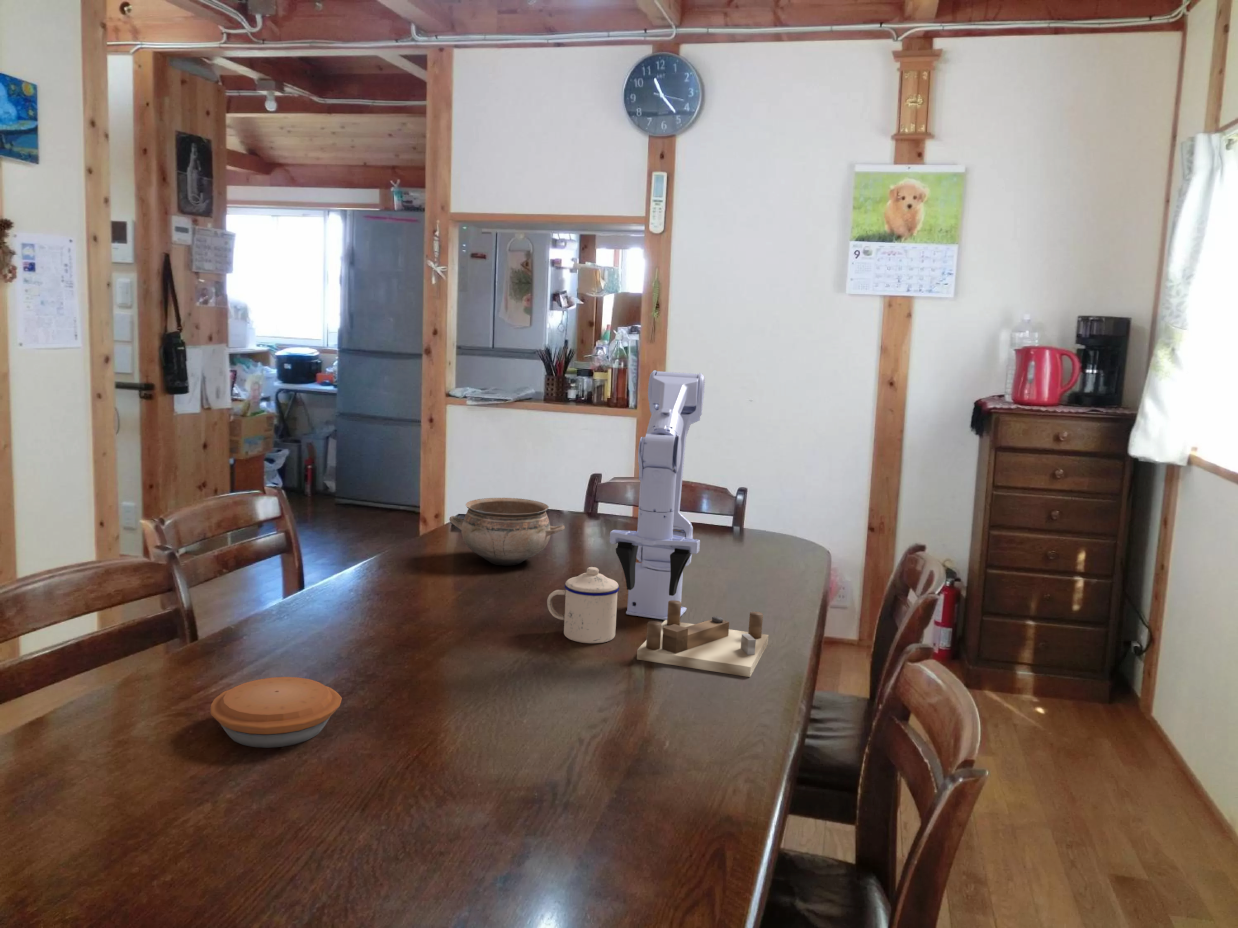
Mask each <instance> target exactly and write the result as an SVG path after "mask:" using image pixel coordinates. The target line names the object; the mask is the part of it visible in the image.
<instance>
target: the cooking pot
mask: <svg viewBox="0 0 1238 928" xmlns="http://www.w3.org/2000/svg"><path fill="white" fill-rule="evenodd" d="M465 506H466V508H467V511H466V513H465V516H464V518H460V517H458V516H455V515H451V516H450V517H449V522H450V523H451V524H452V525H453V526H455V527H456V528H458V529H459V530H460V531H461V536H462V540H463V542H464V544H465V545H466V547H467V548H468V549H470V550H471V551H472V552H473V553H474V554H476V555H478V556H480V557H481V558H482V559H484V560H486V561H487V562H489V563H490V564H492V565H496V566H516V565H520V564H521V563H523V562H525V561H527V560H529V559H531V558H533V557H534V556H536V555H537V554H539V553H540V552H542V551H543V550H544V549H545V548H546V547H547V545H548V543H549V541H550V539H551V536H552V535H554V534H558V533H560V532H562V531H563V530H565V528H566V527H565V525H564V524H561V525H557V526H553V525H551V523H550V519H549V517H548V514H547V511H548V510H549V507H550V506H549V505H548V504H546V503H544V502H541V501H538V500H533V499H526V498H517V497H516V498H515V497H486V498H477V499H473V500H470V501H468V502H466V503H465Z"/></svg>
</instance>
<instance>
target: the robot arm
mask: <svg viewBox="0 0 1238 928" xmlns="http://www.w3.org/2000/svg"><path fill="white" fill-rule="evenodd" d="M705 379H706V378H705V376H704V375H703V373H701V372H699V373H691V372H674V371H657V370H655V369H654V370H653V371H652V372H651V373H649V379H648V385H647V386H648V387H647V399H648V403H649V404H648V405H649V412H650V415H651V416H650V417H649V421H648V425H647V428H646V429H647V430H646V433H645V436H641V437H640V439H639V443H638V447H637V448H638V449H637V450H638V451H637V461H638V462H637V463H638V480H639V481H640V482H639V494H638V495H639V496H638V497H639V498H638V510H637V511H638V515H637V530H620V529H613V530H611V531H610V532H609V544H612V545H614V544H615V545H617V547H615V554H616V556H617V558H618V560H619V563H620V565H621V567H622V570H623V574H624V578H625V585H626V590H628V592H627V610H626V611H625V614H626V615H629V616H638V617H643V618H651V619H656V620H663V621H665V620H667V615H668V601H671V600H676V601H680V602H681V603H682V592H683V579H684V576H683V575H684V570H685V567H688V566H689V565H690V564H691V563H692V556H693V554H694V555H697V554H698V553H699V552H700V547H701V540H700V539H697V538H696V539H694V534H693V532H694V527H693V525H692V522H691V521H690V520H689V519H688V518H687V517H685V515H683V514H682V513H681V512H680V509H681V501H682V500H681V499H682V488H683V487H682V485H683V477H684V476H683V475H684V465H685V454H686V443H687V436H688V433H689V430H690V427H691V425H693V424H694V423H697V422H699V421H701V416H702V415H703V406H704V405H703V404H704V398H705V383H706V382H705ZM637 560H638V562H637ZM686 611H687V607H686V606H685V607H684V606H681V615H680V618H681V617H682V616H683V615H684V613H685V612H686Z"/></svg>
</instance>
